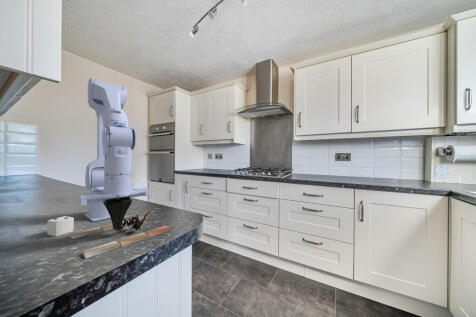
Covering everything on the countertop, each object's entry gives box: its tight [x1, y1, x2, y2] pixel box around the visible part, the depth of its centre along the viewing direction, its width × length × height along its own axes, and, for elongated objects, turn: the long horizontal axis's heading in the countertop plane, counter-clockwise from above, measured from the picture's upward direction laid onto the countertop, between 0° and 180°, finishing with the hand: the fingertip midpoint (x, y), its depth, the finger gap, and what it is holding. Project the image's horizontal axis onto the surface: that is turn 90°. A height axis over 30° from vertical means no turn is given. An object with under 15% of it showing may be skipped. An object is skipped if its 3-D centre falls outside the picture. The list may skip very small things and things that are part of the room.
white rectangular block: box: [46, 215, 75, 237], centre depth 44 cm, size 4×4×4 cm
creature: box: [113, 211, 150, 235], centre depth 47 cm, size 8×5×8 cm
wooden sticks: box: [69, 215, 172, 259], centre depth 45 cm, size 15×18×1 cm
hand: (116, 228), depth 44 cm, fingers closed
